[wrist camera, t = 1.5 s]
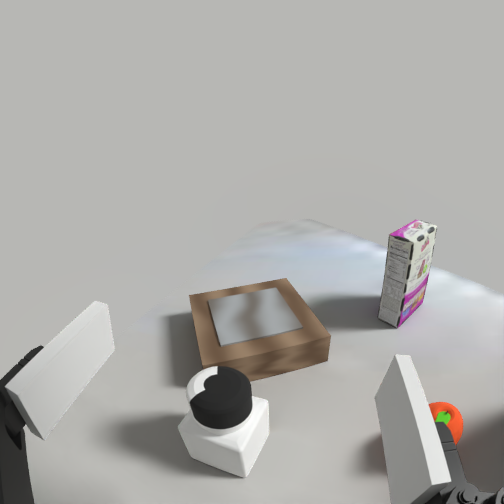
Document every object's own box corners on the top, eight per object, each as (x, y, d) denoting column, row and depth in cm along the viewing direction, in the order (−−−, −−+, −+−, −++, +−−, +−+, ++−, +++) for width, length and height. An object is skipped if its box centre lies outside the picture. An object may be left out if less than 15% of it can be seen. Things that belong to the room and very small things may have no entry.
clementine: (431, 483, 22) (458, 454, 19) (384, 460, 26) (403, 429, 23) (456, 435, 26) (480, 401, 24) (414, 416, 31) (432, 380, 28)
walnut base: (286, 300, 59) (286, 276, 57) (327, 360, 43) (331, 334, 41) (193, 318, 55) (188, 293, 53) (208, 389, 39) (202, 363, 37)
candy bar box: (402, 294, 58) (415, 218, 51) (422, 303, 54) (438, 225, 47) (374, 318, 52) (387, 232, 45) (397, 329, 48) (415, 241, 41)
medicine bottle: (270, 433, 32) (268, 368, 27) (246, 479, 26) (236, 425, 21) (217, 416, 35) (202, 350, 30) (189, 457, 29) (163, 397, 24)
